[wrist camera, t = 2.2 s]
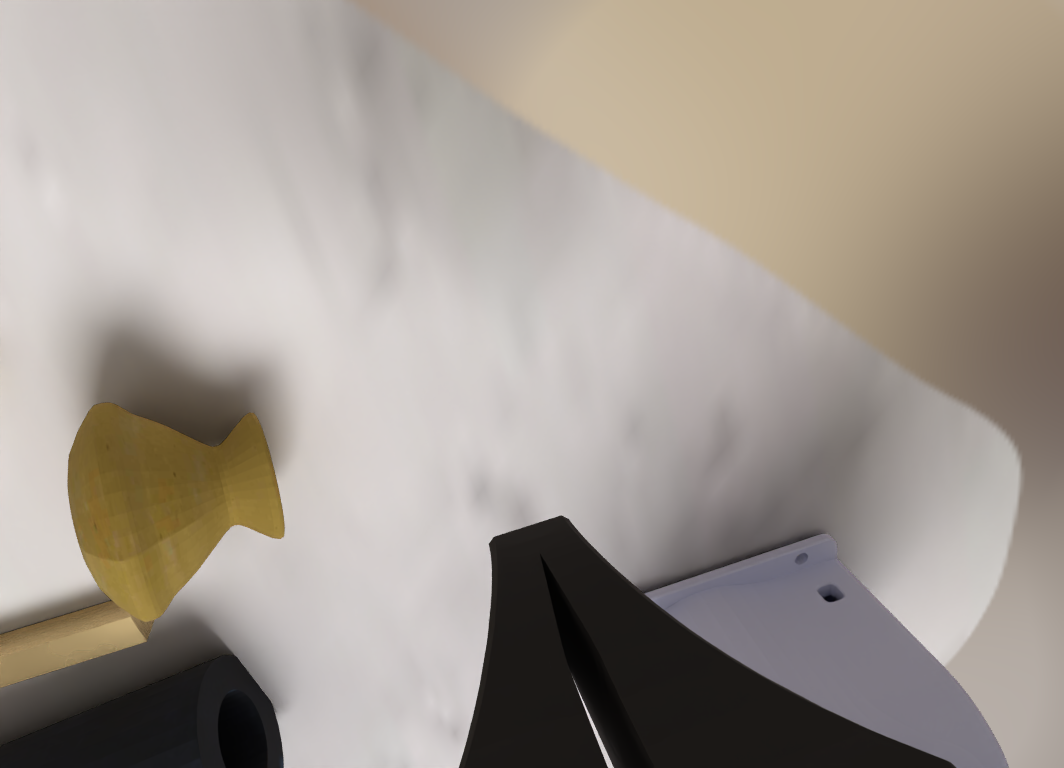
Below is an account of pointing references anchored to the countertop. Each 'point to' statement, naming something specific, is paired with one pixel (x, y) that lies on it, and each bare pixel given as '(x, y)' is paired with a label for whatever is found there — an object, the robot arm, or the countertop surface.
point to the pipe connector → (165, 727)
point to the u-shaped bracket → (68, 641)
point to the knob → (163, 502)
